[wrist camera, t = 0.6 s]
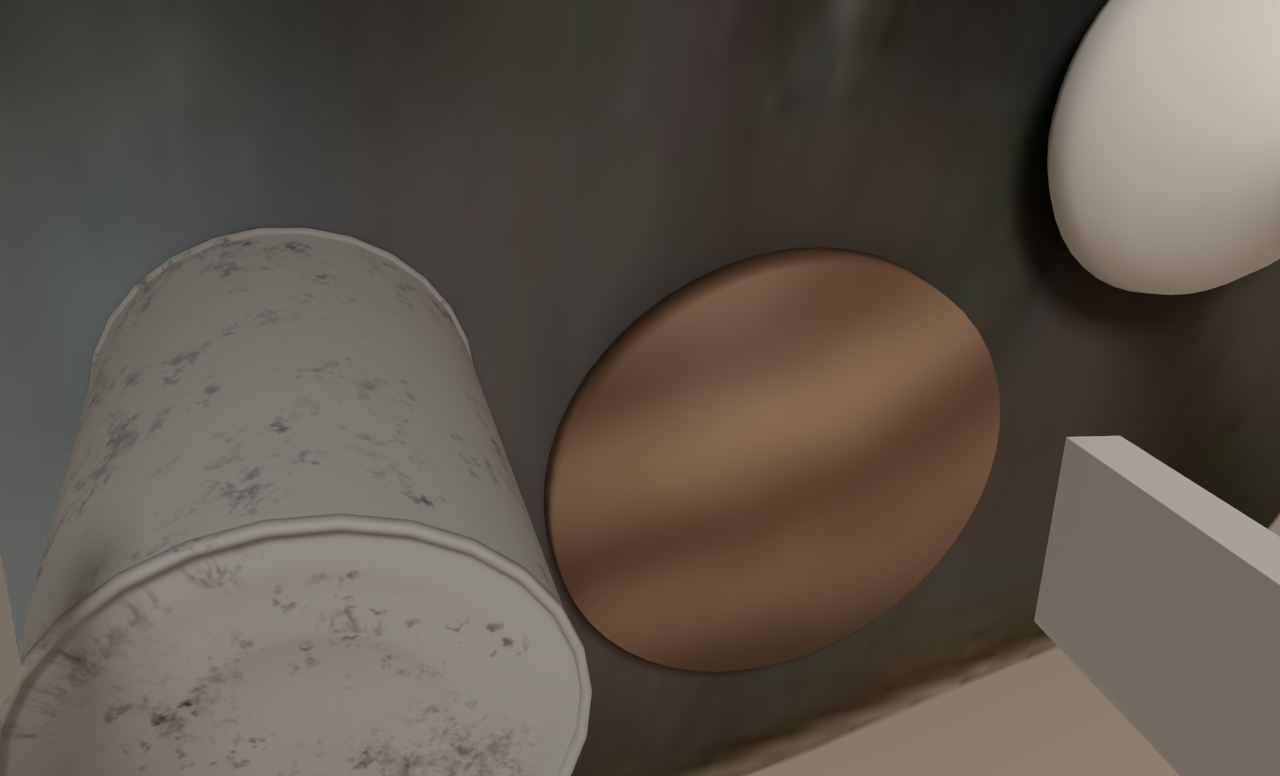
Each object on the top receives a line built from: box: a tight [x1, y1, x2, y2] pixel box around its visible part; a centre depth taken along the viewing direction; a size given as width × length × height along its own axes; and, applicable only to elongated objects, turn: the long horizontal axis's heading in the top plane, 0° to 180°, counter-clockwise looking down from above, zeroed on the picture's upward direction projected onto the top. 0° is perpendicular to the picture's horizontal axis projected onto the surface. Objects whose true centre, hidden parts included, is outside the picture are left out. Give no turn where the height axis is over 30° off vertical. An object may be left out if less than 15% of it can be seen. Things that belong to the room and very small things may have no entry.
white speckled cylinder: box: [0, 228, 592, 776], centre depth 23 cm, size 10×10×12 cm
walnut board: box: [544, 247, 1000, 672], centre depth 33 cm, size 15×15×1 cm
